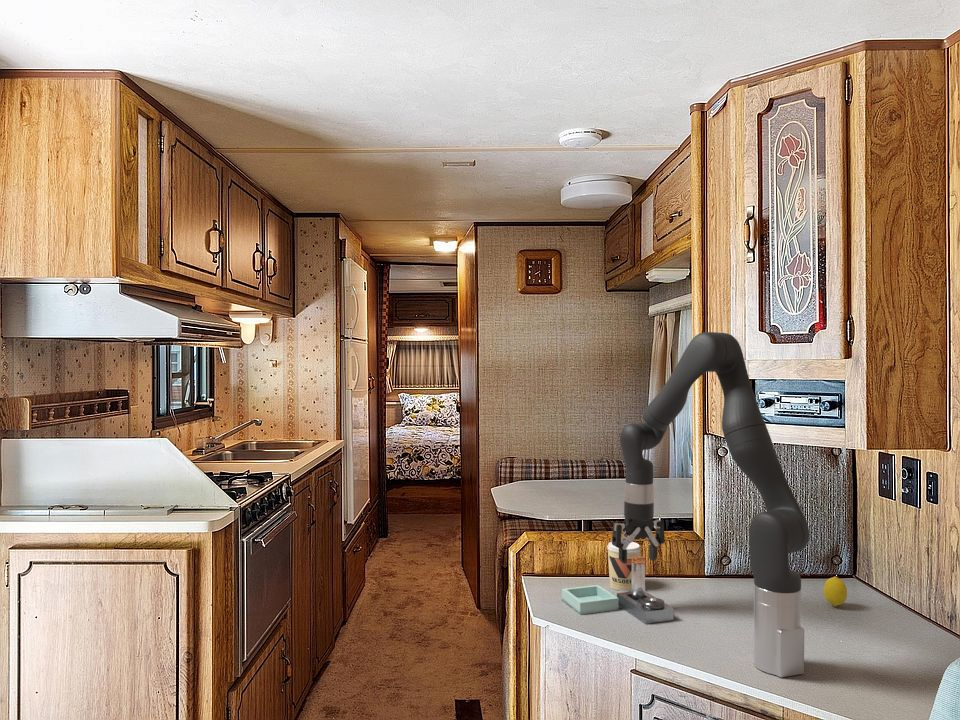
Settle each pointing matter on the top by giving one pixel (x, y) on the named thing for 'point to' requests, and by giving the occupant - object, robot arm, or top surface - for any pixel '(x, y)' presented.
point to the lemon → (835, 591)
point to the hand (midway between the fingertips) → (638, 561)
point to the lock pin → (638, 577)
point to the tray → (589, 599)
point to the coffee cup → (621, 567)
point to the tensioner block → (646, 608)
